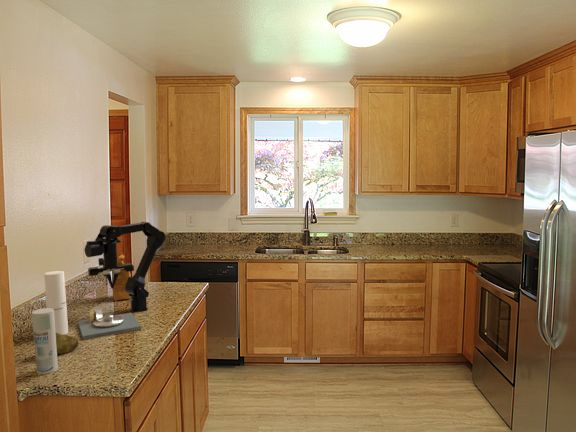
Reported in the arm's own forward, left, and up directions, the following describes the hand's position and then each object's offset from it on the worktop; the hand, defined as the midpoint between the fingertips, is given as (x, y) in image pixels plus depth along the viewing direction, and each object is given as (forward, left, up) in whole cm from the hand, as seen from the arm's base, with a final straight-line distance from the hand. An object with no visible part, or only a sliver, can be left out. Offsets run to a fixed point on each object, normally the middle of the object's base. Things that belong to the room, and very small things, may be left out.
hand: (112, 288), depth 214 cm
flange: (+5, +13, -11) cm, 18 cm away
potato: (+24, +35, -13) cm, 44 cm away
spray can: (+28, +50, -13) cm, 59 cm away
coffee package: (-9, -32, -13) cm, 36 cm away
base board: (+4, +14, -13) cm, 20 cm away
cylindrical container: (+23, +11, -13) cm, 29 cm away
